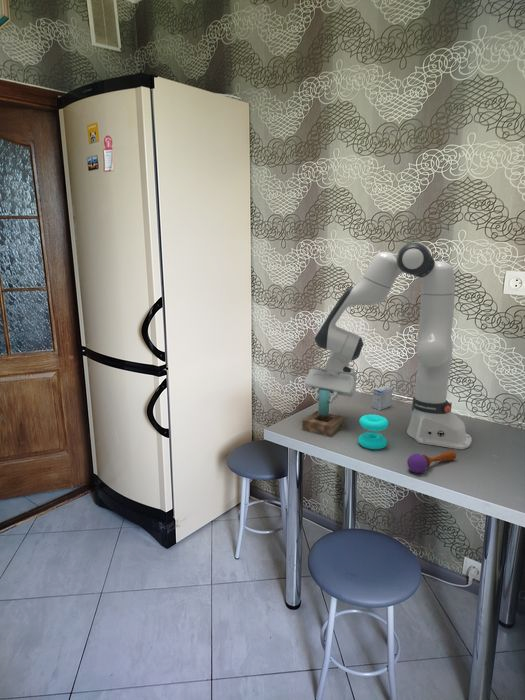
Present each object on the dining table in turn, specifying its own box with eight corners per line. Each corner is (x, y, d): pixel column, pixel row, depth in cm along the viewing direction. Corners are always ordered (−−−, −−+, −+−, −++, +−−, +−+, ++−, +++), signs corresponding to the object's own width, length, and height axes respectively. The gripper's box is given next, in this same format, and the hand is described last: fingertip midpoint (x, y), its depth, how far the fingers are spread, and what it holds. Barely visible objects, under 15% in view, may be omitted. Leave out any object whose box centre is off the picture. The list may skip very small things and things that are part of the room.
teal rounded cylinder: (330, 412, 177) (331, 390, 175) (325, 416, 174) (327, 393, 172) (320, 410, 179) (322, 388, 177) (316, 413, 176) (317, 391, 174)
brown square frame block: (343, 426, 180) (344, 416, 179) (331, 436, 170) (331, 426, 169) (316, 420, 186) (316, 410, 185) (302, 429, 176) (302, 419, 175)
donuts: (383, 425, 155) (355, 419, 160) (381, 453, 157) (353, 446, 162) (392, 416, 163) (365, 411, 168) (390, 443, 165) (363, 436, 170)
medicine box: (382, 404, 206) (384, 385, 204) (391, 406, 203) (392, 387, 201) (371, 407, 201) (373, 388, 199) (380, 410, 198) (381, 391, 196)
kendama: (462, 452, 150) (421, 462, 139) (456, 467, 152) (415, 478, 141) (447, 442, 154) (406, 451, 144) (441, 457, 156) (401, 467, 146)
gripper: (309, 362, 184) (296, 391, 178) (357, 370, 173) (346, 402, 167) (313, 370, 189) (301, 399, 183) (361, 379, 178) (350, 410, 172)
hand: (323, 401), depth 175 cm, fingers closed on teal rounded cylinder, 4 cm apart
